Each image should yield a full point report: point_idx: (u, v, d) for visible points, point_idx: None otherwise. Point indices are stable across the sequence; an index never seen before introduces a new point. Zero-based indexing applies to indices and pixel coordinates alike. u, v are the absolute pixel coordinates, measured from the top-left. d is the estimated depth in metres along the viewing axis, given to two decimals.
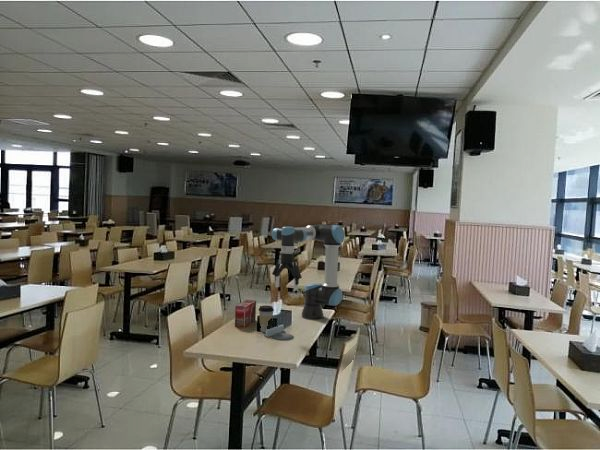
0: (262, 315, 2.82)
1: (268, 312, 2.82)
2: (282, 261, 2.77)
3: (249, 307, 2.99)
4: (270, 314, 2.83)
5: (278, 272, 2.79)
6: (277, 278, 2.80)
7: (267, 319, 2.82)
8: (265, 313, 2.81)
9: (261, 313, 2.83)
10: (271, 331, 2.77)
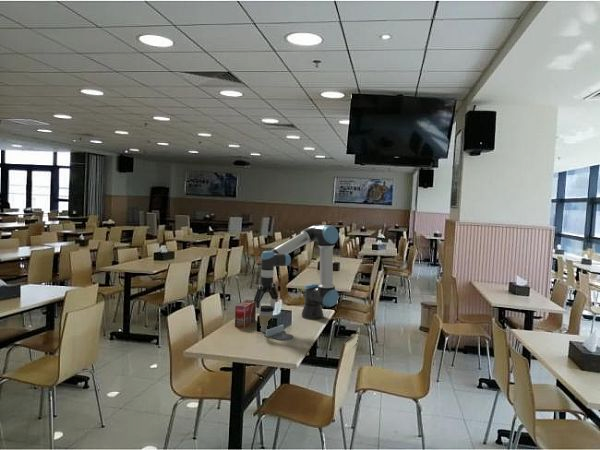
0: (262, 315, 2.82)
1: (268, 312, 2.82)
2: None
3: (249, 307, 2.99)
4: (270, 314, 2.83)
5: (270, 295, 2.90)
6: (271, 301, 2.91)
7: (267, 319, 2.82)
8: (265, 313, 2.81)
9: (261, 313, 2.83)
10: (271, 331, 2.77)
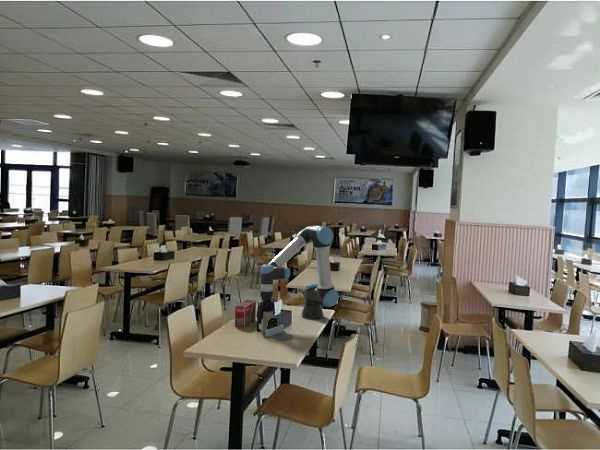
0: None
1: (268, 312, 2.82)
2: None
3: (249, 307, 2.99)
4: (270, 314, 2.83)
5: None
6: None
7: (267, 319, 2.82)
8: (265, 313, 2.81)
9: None
10: (271, 331, 2.77)
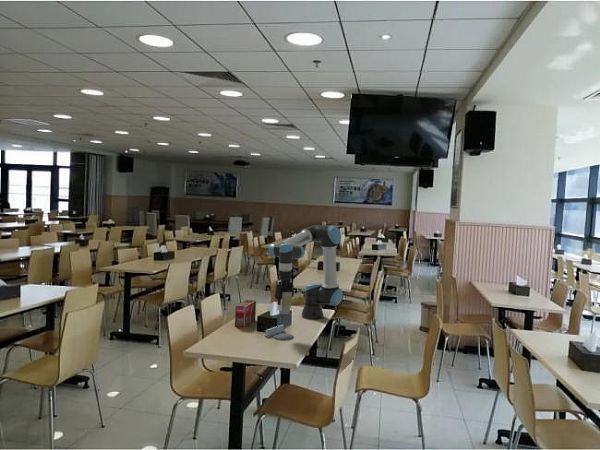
0: None
1: (287, 292, 2.69)
2: None
3: (249, 307, 2.99)
4: (289, 295, 2.71)
5: None
6: None
7: (286, 300, 2.70)
8: (284, 293, 2.69)
9: None
10: (271, 331, 2.77)
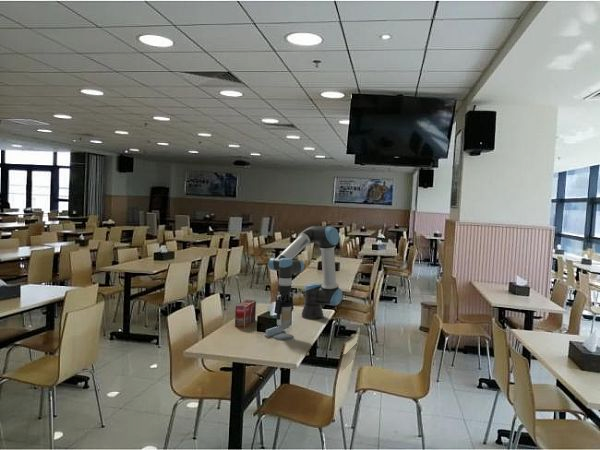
0: None
1: (287, 307, 2.70)
2: None
3: (249, 307, 2.99)
4: (289, 309, 2.71)
5: None
6: None
7: (286, 314, 2.70)
8: (283, 308, 2.69)
9: None
10: (271, 331, 2.77)
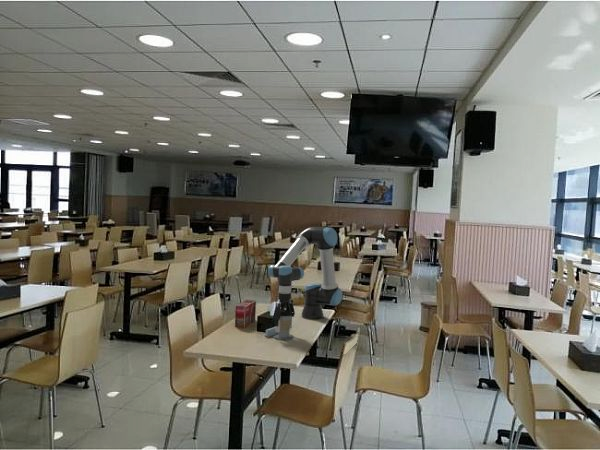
0: (280, 319, 2.70)
1: (287, 316, 2.70)
2: None
3: (249, 307, 2.99)
4: (289, 318, 2.71)
5: None
6: None
7: (285, 324, 2.70)
8: (283, 317, 2.70)
9: None
10: (271, 331, 2.77)
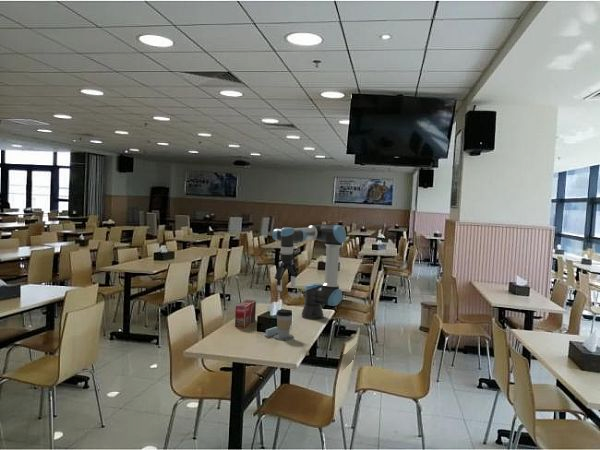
0: (280, 319, 2.71)
1: (286, 316, 2.70)
2: None
3: (249, 307, 2.99)
4: (288, 318, 2.71)
5: (290, 272, 2.85)
6: (292, 278, 2.86)
7: (285, 324, 2.70)
8: (283, 317, 2.70)
9: (279, 317, 2.71)
10: (271, 331, 2.77)
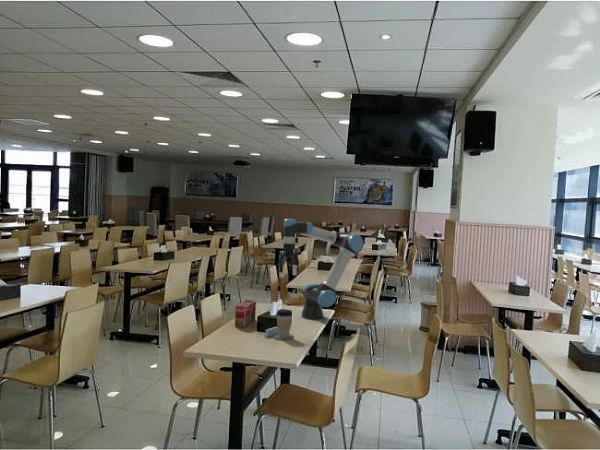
0: (280, 319, 2.71)
1: (286, 316, 2.70)
2: None
3: (249, 307, 2.99)
4: (288, 318, 2.71)
5: None
6: (293, 266, 3.06)
7: (285, 324, 2.70)
8: (283, 317, 2.70)
9: (279, 317, 2.71)
10: (271, 331, 2.77)
